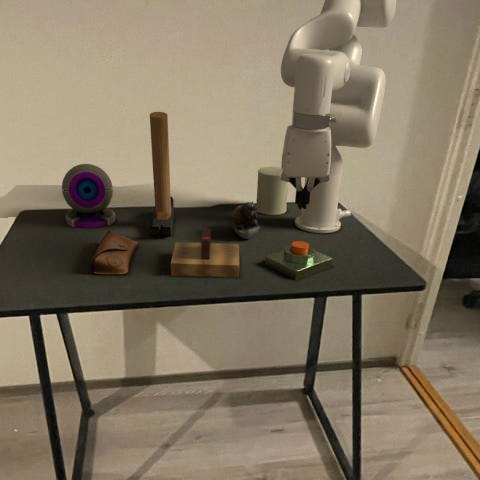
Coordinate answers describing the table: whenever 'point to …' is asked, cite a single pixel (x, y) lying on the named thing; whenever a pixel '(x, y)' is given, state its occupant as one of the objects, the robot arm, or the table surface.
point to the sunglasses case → (113, 255)
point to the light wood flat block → (205, 260)
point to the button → (300, 247)
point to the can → (271, 191)
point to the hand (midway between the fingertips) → (301, 206)
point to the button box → (298, 262)
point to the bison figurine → (246, 220)
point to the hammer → (161, 175)
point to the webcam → (88, 196)
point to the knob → (206, 243)
